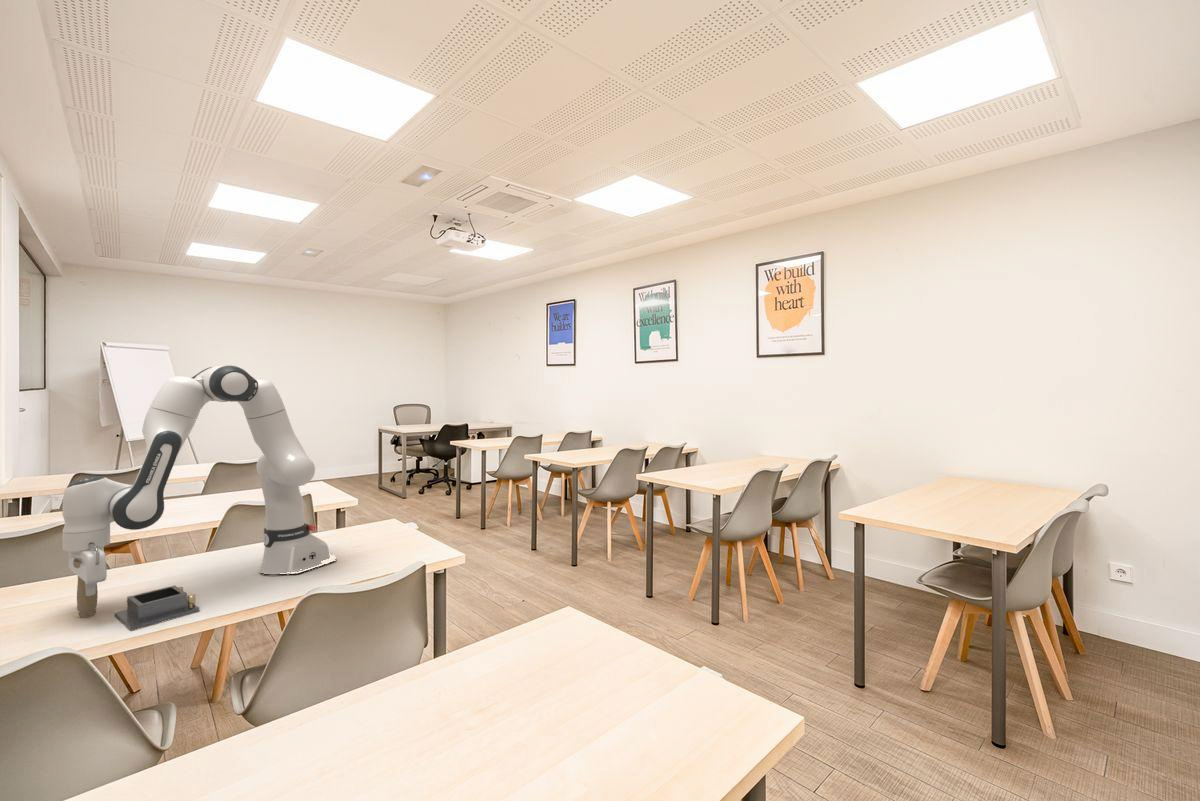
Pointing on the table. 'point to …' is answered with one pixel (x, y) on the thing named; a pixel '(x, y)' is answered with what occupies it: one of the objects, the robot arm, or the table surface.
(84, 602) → the handle
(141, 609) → the clip socket
